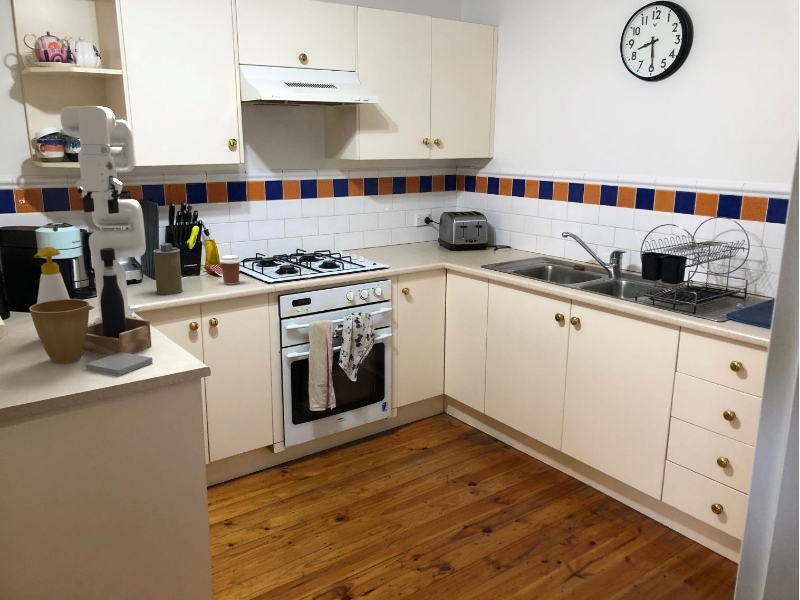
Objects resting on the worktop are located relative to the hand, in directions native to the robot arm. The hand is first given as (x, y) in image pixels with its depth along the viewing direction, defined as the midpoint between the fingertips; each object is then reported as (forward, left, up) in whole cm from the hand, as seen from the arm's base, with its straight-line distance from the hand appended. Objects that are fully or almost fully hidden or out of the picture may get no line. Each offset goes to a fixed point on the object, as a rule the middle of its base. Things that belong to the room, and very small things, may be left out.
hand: (101, 212), depth 189 cm
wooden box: (0, +1, -41) cm, 41 cm away
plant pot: (+14, -3, -41) cm, 43 cm away
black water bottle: (0, +1, -41) cm, 41 cm away
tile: (+12, +15, -41) cm, 45 cm away
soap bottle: (+2, -22, -41) cm, 46 cm away
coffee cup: (-92, -28, -41) cm, 105 cm away
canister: (-67, -40, -41) cm, 88 cm away
